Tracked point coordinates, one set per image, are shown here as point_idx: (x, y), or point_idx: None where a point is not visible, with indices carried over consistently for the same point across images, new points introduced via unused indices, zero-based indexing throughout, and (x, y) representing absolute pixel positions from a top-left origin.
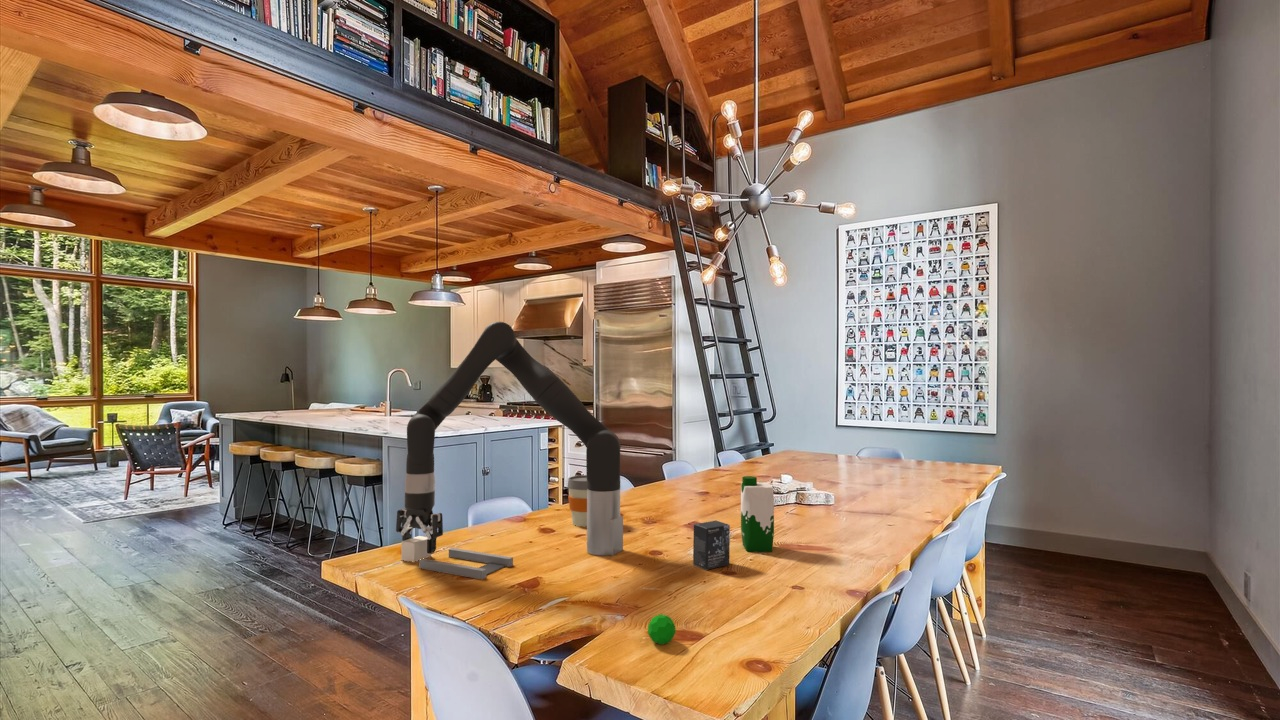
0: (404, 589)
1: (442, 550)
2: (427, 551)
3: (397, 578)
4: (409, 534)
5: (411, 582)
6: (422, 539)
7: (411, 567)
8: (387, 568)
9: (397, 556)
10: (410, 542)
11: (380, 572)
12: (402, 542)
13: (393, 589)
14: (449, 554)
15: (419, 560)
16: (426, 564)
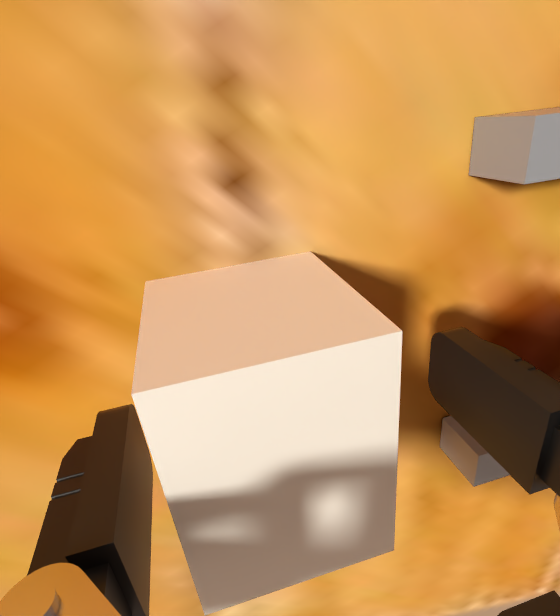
0: (550, 569)
1: (248, 19)
2: (444, 402)
3: (447, 558)
4: (108, 566)
5: (532, 535)
6: (357, 443)
7: None
8: None
9: (58, 433)
10: (331, 565)
11: (305, 590)
12: (218, 597)
13: (514, 593)
14: (493, 176)
15: (474, 483)
16: None
